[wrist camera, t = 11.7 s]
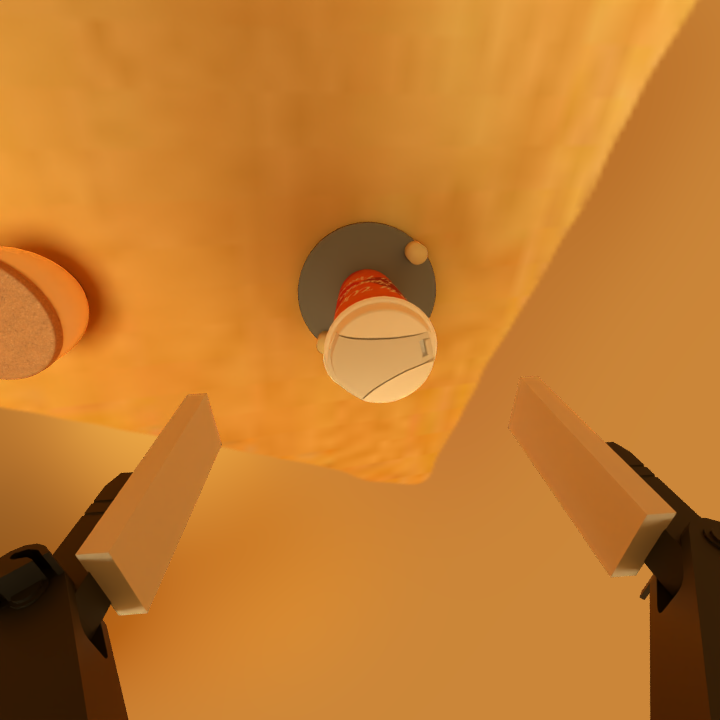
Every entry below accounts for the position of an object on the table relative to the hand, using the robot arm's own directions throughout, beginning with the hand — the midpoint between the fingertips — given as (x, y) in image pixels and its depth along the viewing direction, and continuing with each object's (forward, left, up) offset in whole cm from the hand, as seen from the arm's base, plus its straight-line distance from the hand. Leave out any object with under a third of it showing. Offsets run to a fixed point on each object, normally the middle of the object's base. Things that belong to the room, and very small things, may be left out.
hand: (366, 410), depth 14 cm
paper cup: (+1, +2, -21) cm, 22 cm away
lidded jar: (0, -29, -22) cm, 37 cm away
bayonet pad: (+1, +2, -22) cm, 22 cm away
